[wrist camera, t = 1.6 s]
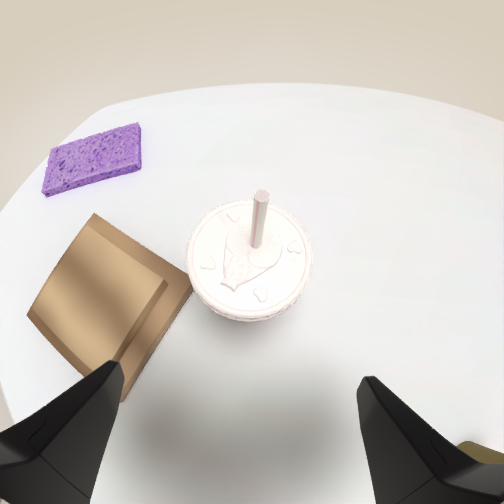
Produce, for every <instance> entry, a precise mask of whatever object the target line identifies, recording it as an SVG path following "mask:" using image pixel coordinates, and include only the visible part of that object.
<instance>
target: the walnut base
mask: <svg viewBox="0 0 504 504" xmlns="http://www.w3.org/2000/svg"><path fill="white" fill-rule="evenodd" d="M193 290H194V289H193V286H192V284H191V281H190V278H189V275H188V274H186V273H185V272H183V271H181V270H180V269H178V268H177V267H175V266H173V265H172V264H170V263H169V262H167V261H165V260H164V259H162V258H161V257H159V256H158V255H156V254H155V253H153V252H152V251H150V250H148V249H147V248H145V247H144V246H142V245H141V244H139V243H138V242H136V241H135V240H133V239H132V238H130V237H129V236H127V235H126V234H124V233H123V232H121V231H120V230H118V229H117V228H115V227H114V226H112V225H111V224H110V223H108V222H107V221H105V220H104V219H102V218H101V217H99V216H98V215H97V214H95V213H94V214H93V215H92V216H91V217H90V219H89V220H88V221H87V223H86V224H85V225H84V227H83V228H82V229H81V231H80V232H79V233H78V235H77V236H76V237H75V239H74V240H73V242H72V243H71V244H70V246H69V247H68V249H67V250H66V252H65V253H64V254H63V256H62V257H61V259H60V260H59V262H58V263H57V265H56V266H55V268H54V270H53V271H52V273H51V274H50V276H49V277H48V279H47V281H46V282H45V284H44V285H43V287H42V289H41V290H40V292H39V294H38V296H37V297H36V299H35V301H34V302H33V304H32V306H31V308H30V310H29V311H28V313H27V316H28V318H29V319H30V320H31V321H32V322H33V324H34V325H35V326H36V327H37V328H38V330H39V331H40V332H41V333H42V334H43V335H44V336H45V338H46V339H47V340H48V341H49V342H50V343H51V344H52V345H53V346H54V347H55V348H56V350H57V351H58V352H59V353H60V354H61V355H62V356H63V357H64V358H65V359H66V360H67V361H68V362H69V363H70V364H71V365H72V366H73V367H74V368H75V369H76V370H77V371H78V372H79V373H81V374H82V375H83V376H84V377H86V376H87V375H89V374H90V373H91V372H93V371H94V370H95V369H97V368H98V367H100V366H101V365H102V364H104V363H105V362H107V361H108V360H115V361H118V362H120V364H121V367H122V370H123V373H124V377H125V381H124V385H123V390H122V394H121V398H120V402H123V400H124V398H125V397H126V395H127V393H128V392H129V390H130V388H131V387H132V385H133V384H134V382H135V380H136V379H137V377H138V375H139V374H140V372H141V371H142V369H143V367H144V366H145V364H146V363H147V361H148V359H149V358H150V356H151V355H152V353H153V352H154V350H155V348H156V347H157V345H158V344H159V342H160V340H161V339H162V337H163V336H164V334H165V333H166V331H167V330H168V328H169V326H170V325H171V323H172V322H173V320H174V319H175V317H176V316H177V314H178V313H179V311H180V309H181V308H182V306H183V305H184V303H185V302H186V300H187V299H188V297H189V296H190V294H191V293H192V291H193Z"/></svg>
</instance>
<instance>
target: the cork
mask: <svg viewBox="0 0 504 504" xmlns="http://www.w3.org/2000/svg"><path fill="white" fill-rule="evenodd" d="M457 448H459V449H460V450H462V451H463V452H465V453H466V454H468V455H469V456H471V457H472V458H473V459H475V460H477V461H479V462H482V463H488V464H504V454H503V453H500V452H497V451H495V450H492V449H489V448H486V447H484V446H481V445H479V444H476V443H473V442H471V441H466V442H463V443H461V444H459V445H458V446H457Z"/></svg>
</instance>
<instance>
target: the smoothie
mask: <svg viewBox="0 0 504 504" xmlns="http://www.w3.org/2000/svg"><path fill="white" fill-rule="evenodd" d="M269 196H270V195H269V192H268V191H266V190H264V189H258V190H257V191H256V192H255V193H254V200H238V201H233V202H229V203H226V204H223V205H221V206H219V207H217V208H215V209H214V210H212V211H211V212H209V213H208V214H207V215H206V216H204V217H203V218H202V219H201V220H200V222H199V223H198V224H197V225H196V227H195V228H194V230H193V232H192V234H191V236H190V239H189V242H188V245H187V250H186V265H187V271H188V275H189V278H190V281H191V284H192V286H193V289H194V291H195V292H196V293H197V295H198V296H199V298H200V299H201V300H202V302H203V303H204V304H206V305H207V306H208V307H209V308H211V309H212V310H213V311H214V312H216V313H217V314H220V315H222V316H224V317H227V318H229V319H231V320H238V321H245V322H253V321H261V320H267V319H269V318H272V317H274V316H277V315H279V314H281V313H283V312H284V311H285V310H287V309H288V308H289V307H290V306H292V305H293V304H294V303H295V302H296V301H297V299H298V298H299V296H300V295H301V294H302V292H303V291H304V289H305V286H306V284H307V282H308V280H309V277H310V274H311V270H312V249H311V245H310V242H309V239H308V237H307V234H306V233H305V231H304V229H303V228H302V226H301V225H300V224H299V222H298V221H297V220H296V219H295V218H294V217H293V216H292V215H290V214H289V213H288V212H286V211H285V210H283V209H282V208H280V207H278V206H276V205H273V204H271V203H268V202H269Z"/></svg>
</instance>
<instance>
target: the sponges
mask: <svg viewBox="0 0 504 504" xmlns="http://www.w3.org/2000/svg"><path fill="white" fill-rule="evenodd" d="M140 141H141V128H140V126H139V124H138V122H137V123H133V124H129V125H126V126H124V127H119V128H115V129H112V130H109V131H107V132H103V133H102V134H101V133H98V134H95V135H92V136H88V137H86V138H85V139H79V140H76V141H73V142H69V143H68V144H65V145H61V146H58V147H56V148H53V149H51V151H50V155H49V159H48V167H47V168H46V172H45V178H44V182H43V186H42V191H41V192H42V193H43V194H45V196H46V197H50V196H52V195H55V194H59V193H62V192H65V191H67V190H70V189H74V188H77V187H81V186H84V185H86V184H91V183H94V182H98V181H101V180H105V179H108V178H112V177H116V176H119V175H124V174H128V173H133V172H136V171H137V170H138V169H139V168H140V167H141V165H142V164H141V144H140Z"/></svg>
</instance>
